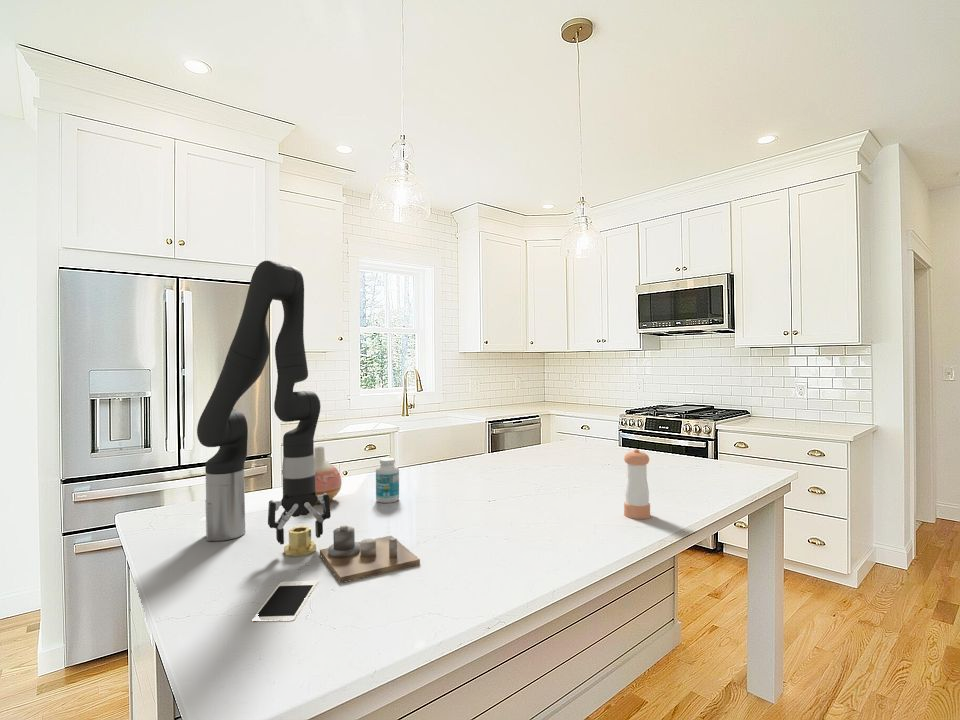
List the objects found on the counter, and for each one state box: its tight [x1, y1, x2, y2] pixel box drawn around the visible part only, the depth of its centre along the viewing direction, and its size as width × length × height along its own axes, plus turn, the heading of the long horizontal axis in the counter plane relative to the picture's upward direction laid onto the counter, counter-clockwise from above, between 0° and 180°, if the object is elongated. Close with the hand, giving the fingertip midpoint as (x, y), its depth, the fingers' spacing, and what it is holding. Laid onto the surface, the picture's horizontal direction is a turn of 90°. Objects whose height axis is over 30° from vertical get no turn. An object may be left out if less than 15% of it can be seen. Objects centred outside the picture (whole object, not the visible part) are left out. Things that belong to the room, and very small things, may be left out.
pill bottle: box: [375, 457, 400, 504], centre depth 170 cm, size 8×7×14 cm
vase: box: [314, 446, 343, 505], centre depth 170 cm, size 14×14×18 cm
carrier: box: [319, 525, 421, 584], centre depth 121 cm, size 18×18×7 cm
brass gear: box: [283, 525, 317, 558], centre depth 127 cm, size 7×7×5 cm
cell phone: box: [256, 580, 319, 621], centre depth 102 cm, size 8×16×1 cm, turn 2°
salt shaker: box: [623, 448, 651, 520], centre depth 151 cm, size 7×7×19 cm
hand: (300, 540), depth 127 cm, fingers open, 8 cm apart
